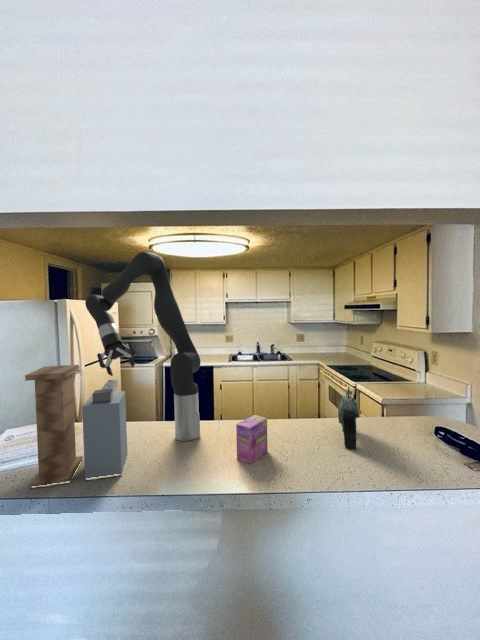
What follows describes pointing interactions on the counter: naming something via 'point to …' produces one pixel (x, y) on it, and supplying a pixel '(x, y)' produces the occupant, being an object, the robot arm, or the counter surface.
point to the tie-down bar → (105, 392)
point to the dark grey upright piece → (348, 419)
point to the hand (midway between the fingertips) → (122, 371)
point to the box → (251, 438)
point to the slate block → (105, 436)
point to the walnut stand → (55, 424)
